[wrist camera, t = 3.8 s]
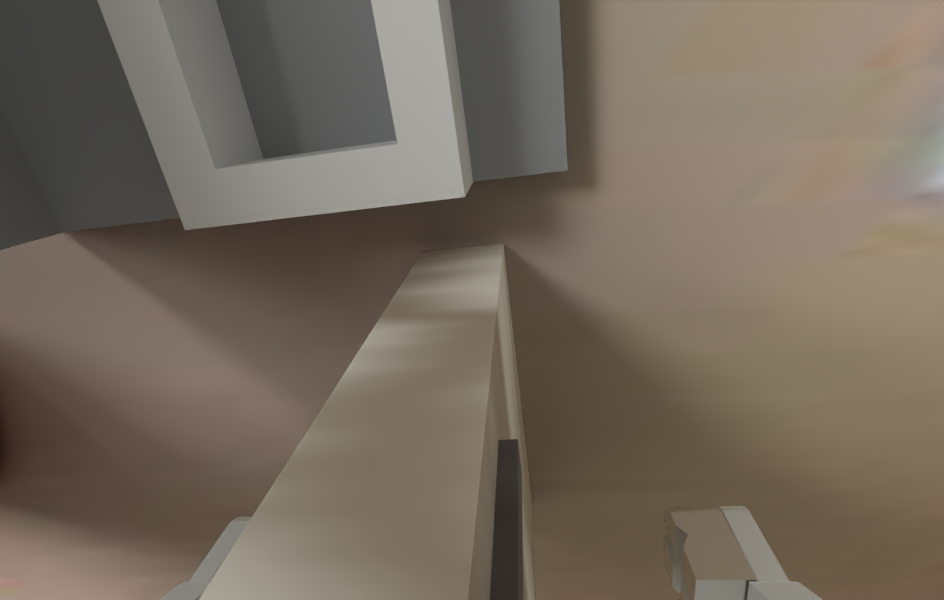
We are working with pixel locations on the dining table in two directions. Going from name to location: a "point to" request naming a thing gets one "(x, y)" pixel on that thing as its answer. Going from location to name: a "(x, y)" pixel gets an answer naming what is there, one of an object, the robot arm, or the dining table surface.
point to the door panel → (407, 460)
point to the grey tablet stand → (267, 107)
